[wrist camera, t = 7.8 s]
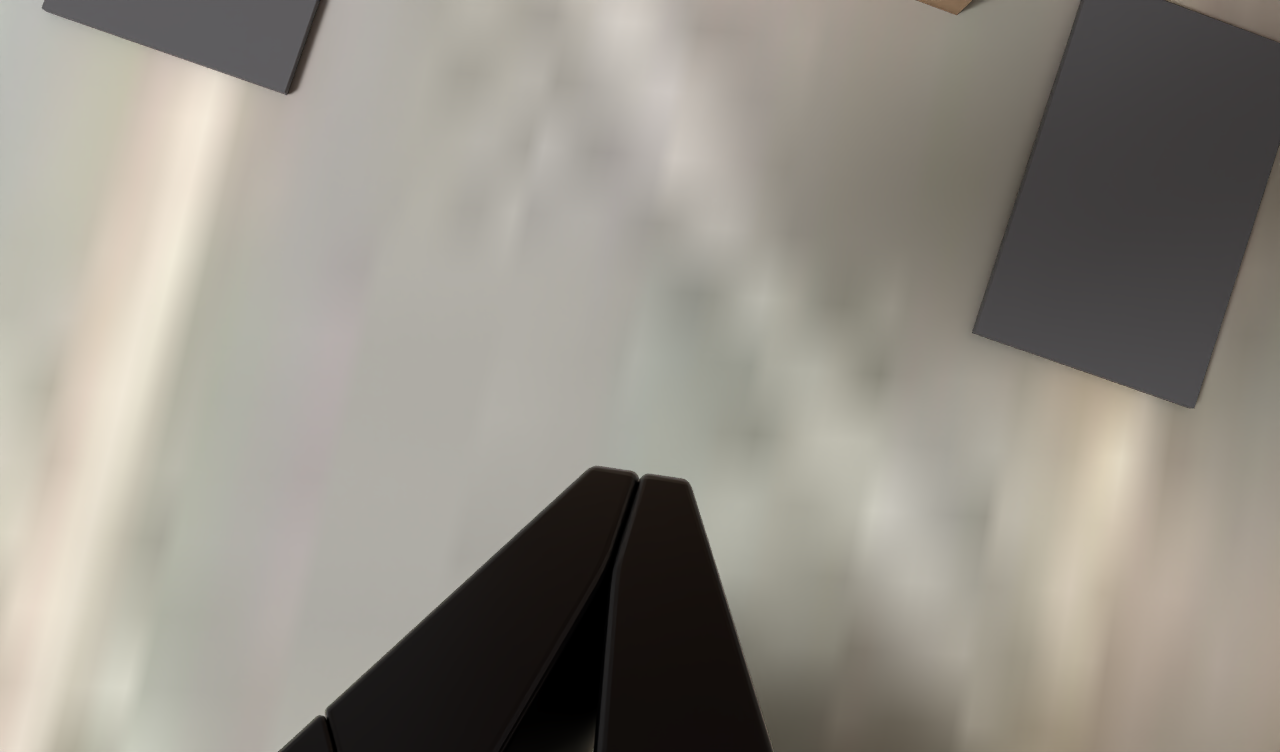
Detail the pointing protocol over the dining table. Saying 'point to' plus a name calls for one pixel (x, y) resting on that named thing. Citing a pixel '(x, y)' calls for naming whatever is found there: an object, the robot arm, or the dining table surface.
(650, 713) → the robot arm
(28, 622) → the dining table surface
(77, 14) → the mats
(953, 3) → the walnut block
